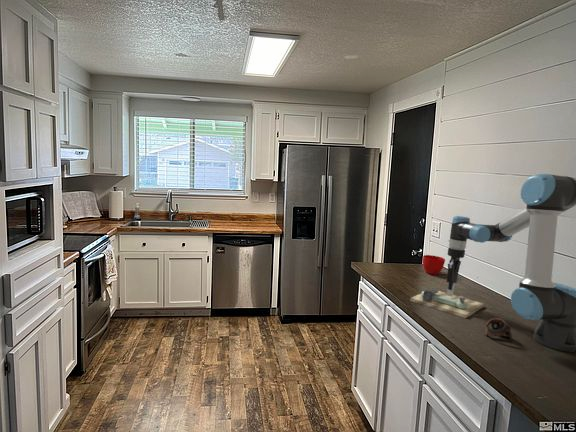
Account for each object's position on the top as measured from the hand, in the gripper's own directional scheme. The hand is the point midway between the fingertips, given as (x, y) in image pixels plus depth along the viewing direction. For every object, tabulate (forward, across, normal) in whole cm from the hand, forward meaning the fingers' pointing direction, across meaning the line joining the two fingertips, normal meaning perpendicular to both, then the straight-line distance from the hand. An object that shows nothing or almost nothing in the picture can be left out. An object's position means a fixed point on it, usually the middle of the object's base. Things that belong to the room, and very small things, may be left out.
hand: (449, 295), depth 199 cm
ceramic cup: (+4, -52, -26) cm, 59 cm away
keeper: (+2, +9, -6) cm, 11 cm away
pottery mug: (+4, +27, +27) cm, 39 cm away
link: (+2, +8, 0) cm, 8 cm away
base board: (+3, +4, 0) cm, 5 cm away
